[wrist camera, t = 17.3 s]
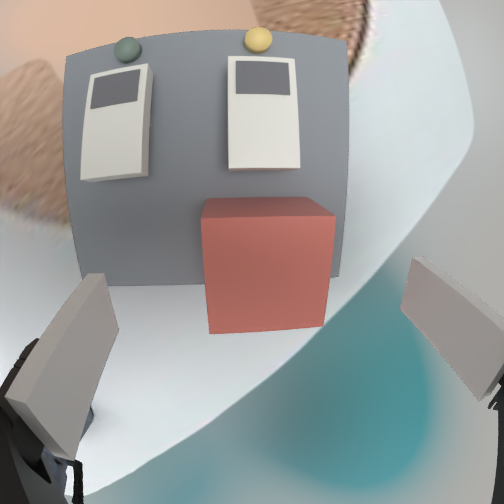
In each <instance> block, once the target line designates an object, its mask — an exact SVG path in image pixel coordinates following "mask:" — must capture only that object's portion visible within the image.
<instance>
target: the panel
mask: <svg viewBox="0 0 504 504" xmlns="http://www.w3.org/2000/svg"><path fill="white" fill-rule="evenodd" d="M228 56H261V57H279V58H292V59H295V71H296V85H297V101H298V119H299V142H300V169H297V170H295V171H228ZM147 63H148V64H149V66H150V68H151V70H152V72H153V84H152V95H151V109H150V127H149V160H148V176H142V177H132V178H122V179H113V180H105V181H97V182H88V181H83V180H80V176H81V151H82V137H83V126H84V116H85V108H86V101H87V94H88V87H89V81H90V76H91V75H92V74H96V73H100V72H104V71H109V70H114V69H118V68H124V67H129V66H135V65H141V64H147ZM63 154H64V170H65V181H66V191H67V199H68V207H69V214H70V221H71V227H72V233H73V238H74V243H75V249H76V253H77V258H78V263H79V267H80V271H81V276H82V280H83V279H84V278H85V277H86V275H87V274H91V273H104V275H105V279H106V283H107V286H146V285H189V284H205V277H204V264H203V250H202V233H201V216H202V213H203V209H204V206H205V202H206V199H209V198H241V197H308V198H310V199H311V200H313V201H314V202H316V203H318V204H319V205H321V206H322V207H324V208H325V209H327V210H328V211H329V212H331V213H332V214H334V215H335V216H336V224H335V235H334V246H333V255H332V264H331V273H330V278H332V277H338V276H339V268H340V260H341V251H342V242H343V232H344V221H345V209H346V195H347V178H348V155H349V79H348V57H347V42H346V41H343V40H338V39H333V38H327V37H321V36H315V35H307V34H299V33H290V32H279V31H268V30H267V29H265V28H262V27H254V28H251V29H250V30H205V31H190V32H179V33H170V34H162V35H155V36H149V37H142V38H137V39H135V38H132V37H126V38H123V39H121V40H120V41H118V42H117V43H113V44H108V45H104V46H100V47H96V48H93V49H89V50H86V51H82V52H79V53H76V54H72V55H69V56H67V57H66V64H65V75H64V90H63Z"/></svg>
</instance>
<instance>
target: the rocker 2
mask: <svg viewBox="0 0 504 504" xmlns="http://www.w3.org/2000/svg"><path fill="white" fill-rule="evenodd" d="M297 169H300V142H299V119H298V101H297V85H296V71H295V59H292V58H279V57H261V56H228V171H295V170H297Z"/></svg>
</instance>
